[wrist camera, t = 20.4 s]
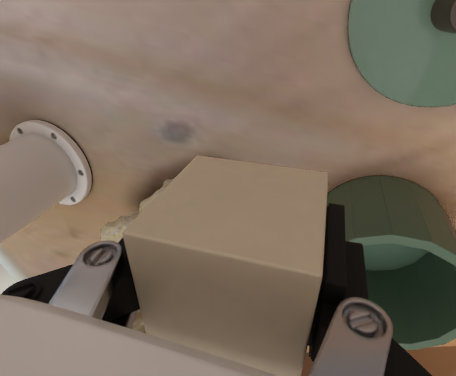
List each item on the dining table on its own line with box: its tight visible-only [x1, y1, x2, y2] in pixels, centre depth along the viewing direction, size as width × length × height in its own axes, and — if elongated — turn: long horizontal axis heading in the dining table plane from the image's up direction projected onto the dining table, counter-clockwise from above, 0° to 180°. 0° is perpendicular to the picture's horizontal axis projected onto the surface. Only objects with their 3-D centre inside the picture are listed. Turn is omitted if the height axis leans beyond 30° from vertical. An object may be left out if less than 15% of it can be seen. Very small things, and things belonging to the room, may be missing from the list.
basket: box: [327, 176, 456, 350], centre depth 28 cm, size 13×13×10 cm
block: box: [122, 156, 328, 376], centre depth 10 cm, size 5×5×5 cm
